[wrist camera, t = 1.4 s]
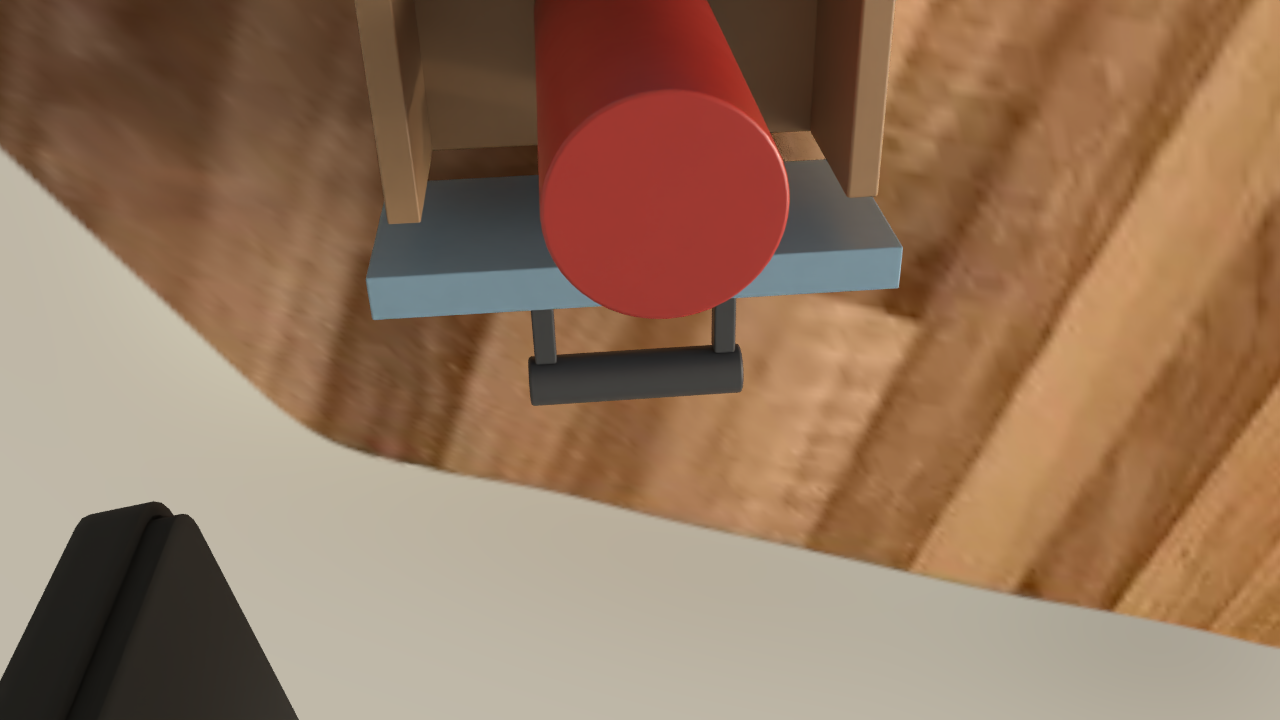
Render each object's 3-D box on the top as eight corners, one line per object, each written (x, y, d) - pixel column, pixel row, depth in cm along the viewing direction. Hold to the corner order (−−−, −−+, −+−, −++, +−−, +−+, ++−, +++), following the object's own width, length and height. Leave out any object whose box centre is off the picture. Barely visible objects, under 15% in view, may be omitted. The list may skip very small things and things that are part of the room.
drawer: (837, 316, 38) (884, 422, 33) (411, 343, 37) (394, 455, 32) (895, -430, 27) (977, -439, 22) (300, -416, 26) (249, -422, 21)
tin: (539, 100, 32) (548, 327, 22) (527, -70, 29) (531, 96, 19) (702, 92, 32) (784, 313, 22) (703, -78, 30) (796, 83, 20)
